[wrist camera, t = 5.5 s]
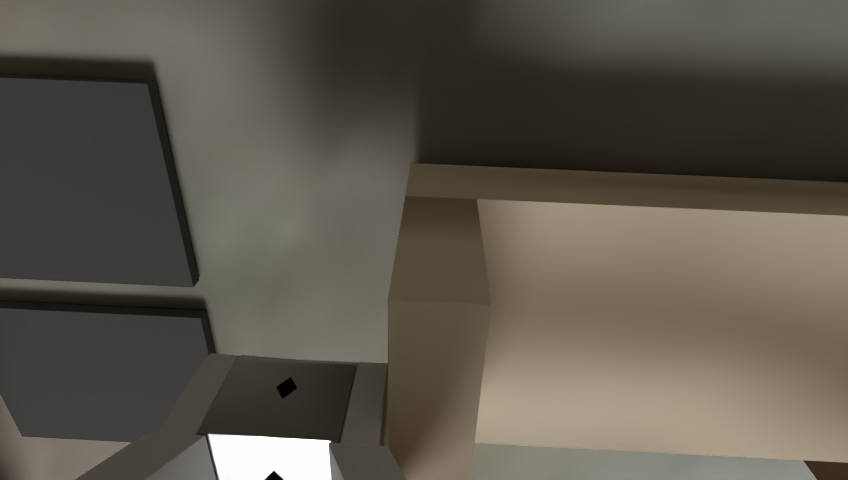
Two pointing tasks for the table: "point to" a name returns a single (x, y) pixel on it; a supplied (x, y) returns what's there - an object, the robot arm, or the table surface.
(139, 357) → the plate
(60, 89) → the pit pad
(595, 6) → the table surface
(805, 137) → the table surface
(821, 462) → the tunnel
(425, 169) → the board
